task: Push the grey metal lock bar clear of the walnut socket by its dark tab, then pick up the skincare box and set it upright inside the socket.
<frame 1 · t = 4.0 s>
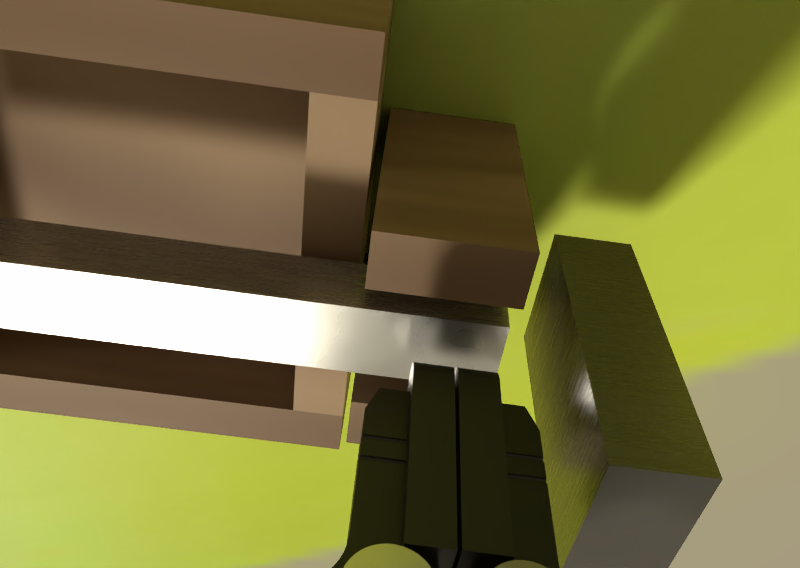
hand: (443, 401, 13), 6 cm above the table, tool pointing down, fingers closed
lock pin: (241, 345, 13), point 5 cm above the table, slide at 0.1 cm, touching gripper
dock: (156, 178, 17), on the table
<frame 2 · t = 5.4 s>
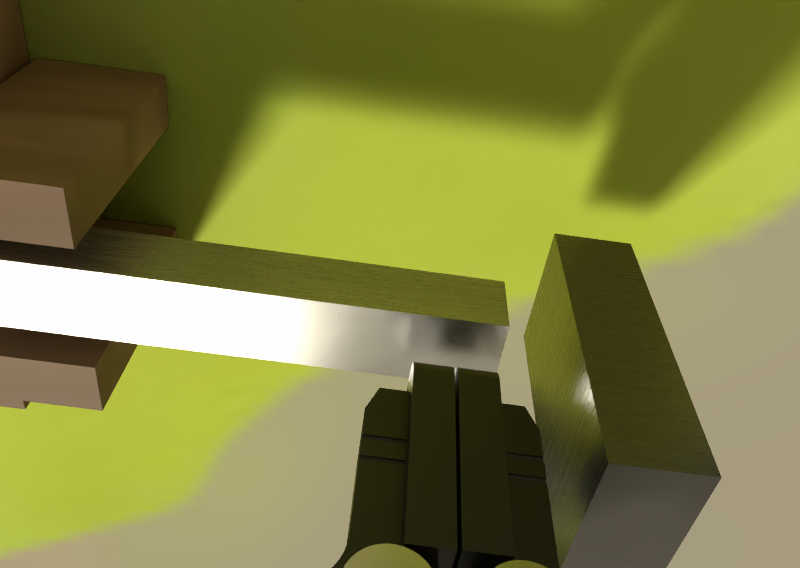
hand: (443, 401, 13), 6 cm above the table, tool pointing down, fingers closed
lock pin: (241, 343, 13), point 5 cm above the table, slide at 8.0 cm, touching gripper
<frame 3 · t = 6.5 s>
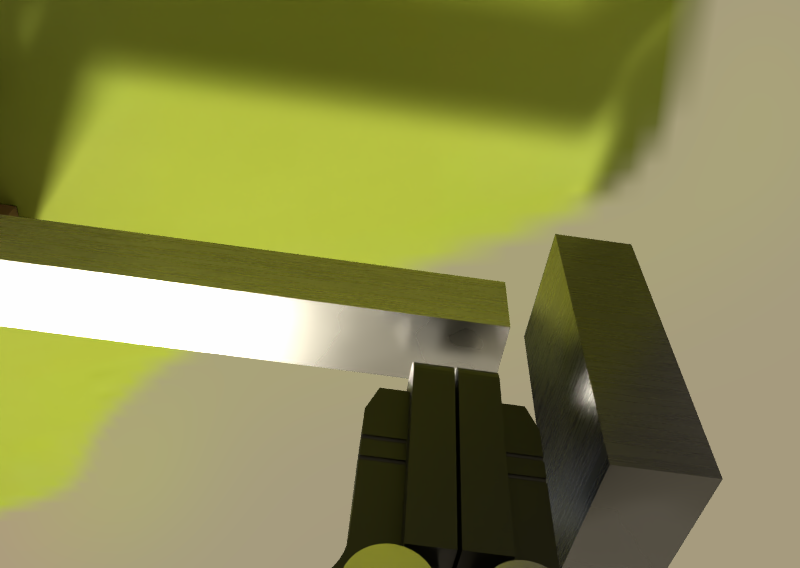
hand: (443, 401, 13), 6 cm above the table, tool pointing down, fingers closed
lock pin: (241, 343, 13), point 5 cm above the table, slide at 12.0 cm, touching gripper
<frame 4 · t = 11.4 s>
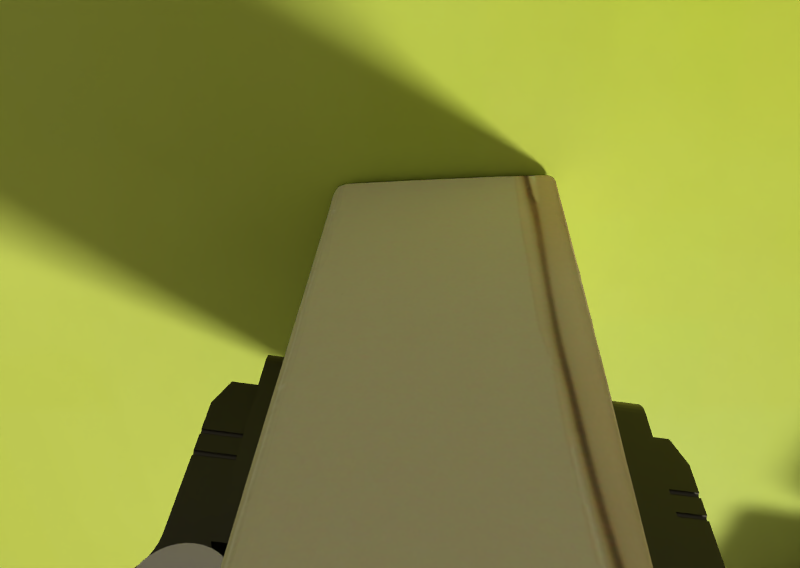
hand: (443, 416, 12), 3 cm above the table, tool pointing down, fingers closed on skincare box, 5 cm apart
skincare box: (444, 293, 15), on the table, touching gripper
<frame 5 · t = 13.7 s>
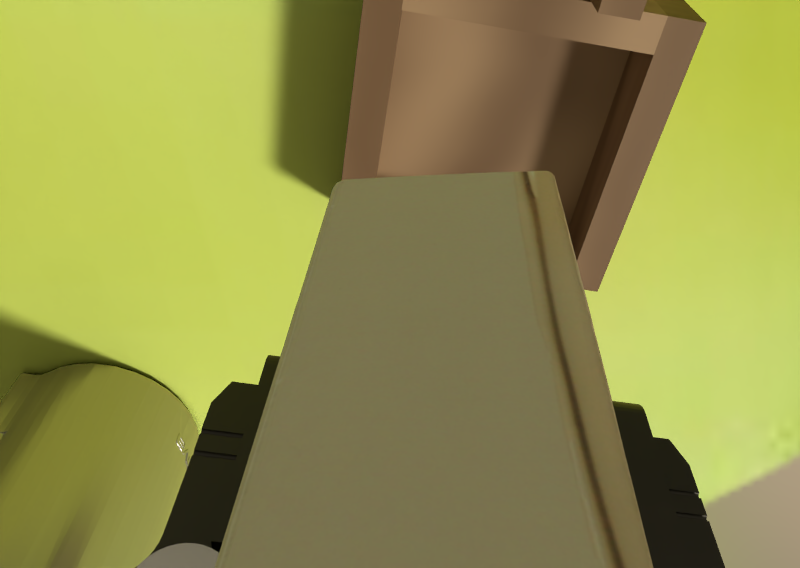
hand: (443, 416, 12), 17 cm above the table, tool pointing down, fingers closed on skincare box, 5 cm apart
skincare box: (443, 290, 15), point 14 cm above the table, touching gripper
dock: (493, 112, 27), on the table
when the fingers open (6 cm above the table, at t = 16.4 s): skincare box drops 2 cm, resting on dock.
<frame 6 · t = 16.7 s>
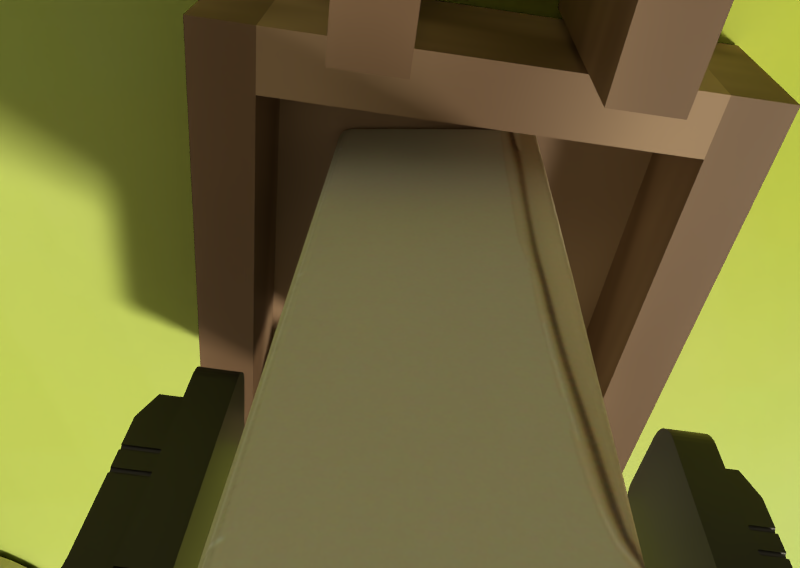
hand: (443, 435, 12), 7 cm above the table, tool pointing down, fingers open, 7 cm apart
skincare box: (430, 238, 17), point 1 cm above the table, touching dock
dock: (444, 225, 17), on the table
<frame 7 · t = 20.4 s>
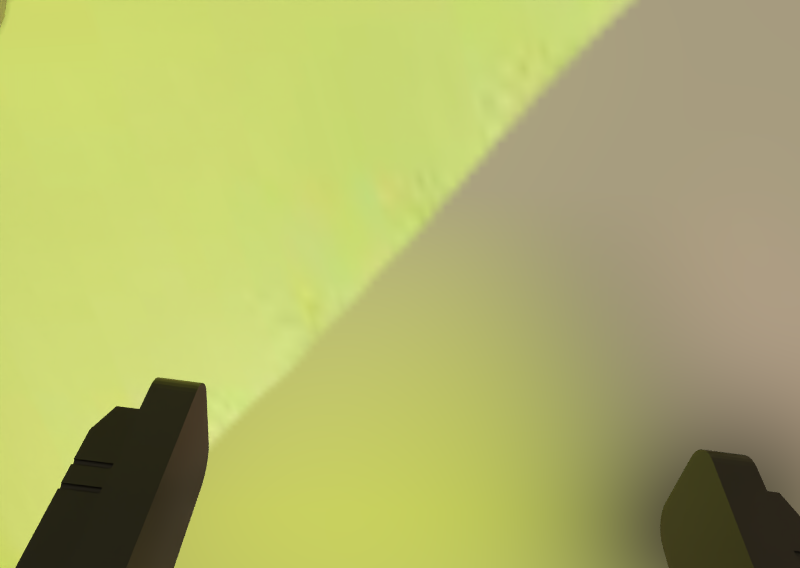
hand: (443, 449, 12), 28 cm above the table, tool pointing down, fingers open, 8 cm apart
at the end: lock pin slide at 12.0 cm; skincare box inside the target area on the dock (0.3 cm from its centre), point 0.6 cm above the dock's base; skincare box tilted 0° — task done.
